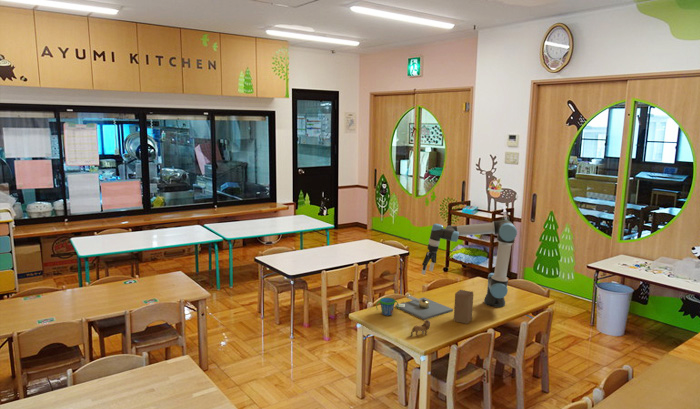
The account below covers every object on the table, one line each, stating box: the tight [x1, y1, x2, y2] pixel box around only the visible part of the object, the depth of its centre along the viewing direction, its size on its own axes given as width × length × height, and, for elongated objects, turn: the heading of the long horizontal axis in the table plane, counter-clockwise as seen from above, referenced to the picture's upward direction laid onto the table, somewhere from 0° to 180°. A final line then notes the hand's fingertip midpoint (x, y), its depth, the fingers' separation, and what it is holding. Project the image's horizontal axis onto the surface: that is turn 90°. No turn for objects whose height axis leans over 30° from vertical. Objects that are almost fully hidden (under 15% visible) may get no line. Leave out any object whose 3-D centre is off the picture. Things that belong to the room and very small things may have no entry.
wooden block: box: [453, 289, 474, 325], centre depth 333 cm, size 10×10×20 cm
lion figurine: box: [410, 319, 431, 338], centre depth 309 cm, size 15×5×9 cm, turn 120°
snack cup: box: [375, 297, 399, 316], centre depth 343 cm, size 16×10×10 cm
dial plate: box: [394, 296, 454, 321], centre depth 354 cm, size 30×30×2 cm
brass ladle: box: [406, 294, 429, 308], centre depth 359 cm, size 22×7×6 cm, turn 37°
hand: (427, 272), depth 359 cm, fingers open, 13 cm apart
